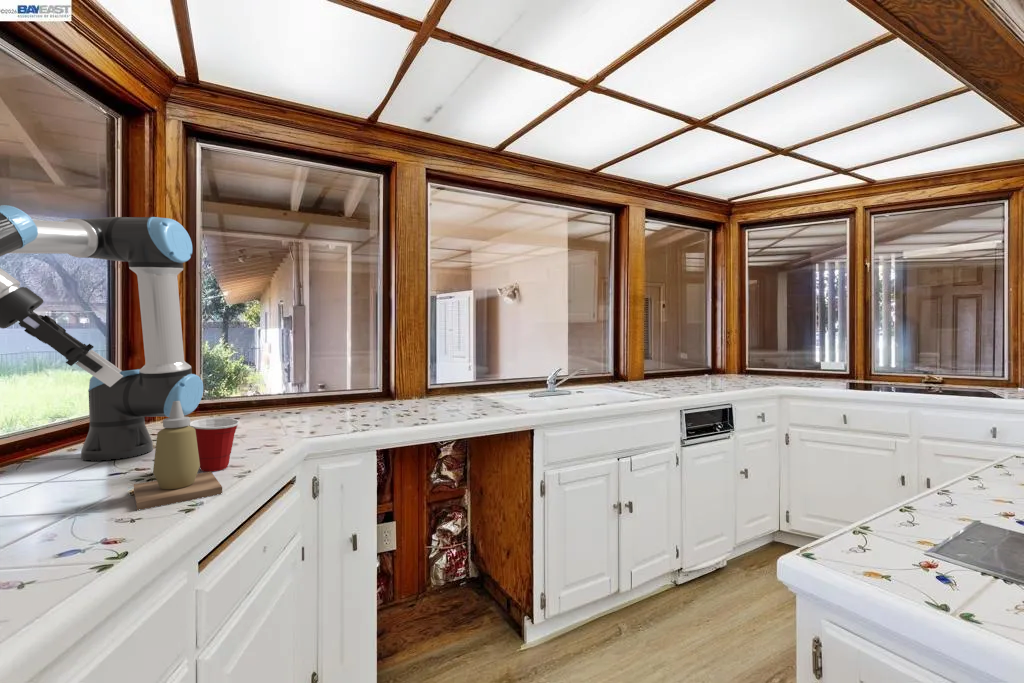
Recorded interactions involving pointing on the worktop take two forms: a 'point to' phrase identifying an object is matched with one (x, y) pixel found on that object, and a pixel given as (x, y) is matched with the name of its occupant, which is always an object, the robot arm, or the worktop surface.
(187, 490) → the walnut board
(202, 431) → the plastic cup
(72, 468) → the worktop surface
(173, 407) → the squeeze bottle
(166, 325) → the robot arm
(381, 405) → the worktop surface
